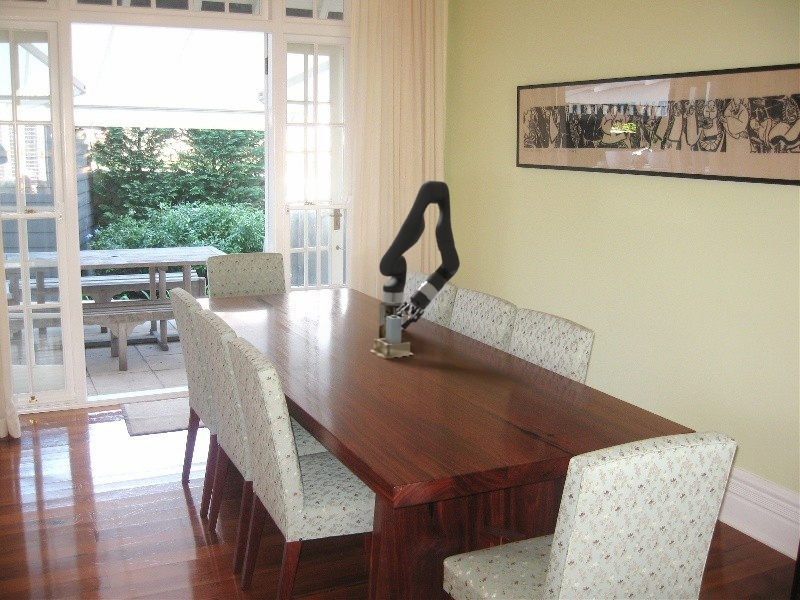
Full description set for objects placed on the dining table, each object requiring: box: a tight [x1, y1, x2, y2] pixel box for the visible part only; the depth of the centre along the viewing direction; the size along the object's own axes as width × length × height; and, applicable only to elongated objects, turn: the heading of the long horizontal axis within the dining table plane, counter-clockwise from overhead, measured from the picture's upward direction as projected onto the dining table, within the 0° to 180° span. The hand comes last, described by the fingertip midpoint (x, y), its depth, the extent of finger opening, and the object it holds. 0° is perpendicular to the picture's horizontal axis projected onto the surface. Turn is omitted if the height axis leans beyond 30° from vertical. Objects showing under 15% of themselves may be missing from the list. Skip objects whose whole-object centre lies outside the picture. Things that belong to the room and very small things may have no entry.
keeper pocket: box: [369, 338, 414, 360], centre depth 350 cm, size 12×13×5 cm
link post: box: [386, 315, 402, 344], centre depth 349 cm, size 4×4×15 cm
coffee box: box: [378, 301, 402, 339], centre depth 370 cm, size 9×6×16 cm
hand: (397, 325), depth 349 cm, fingers open, 8 cm apart
